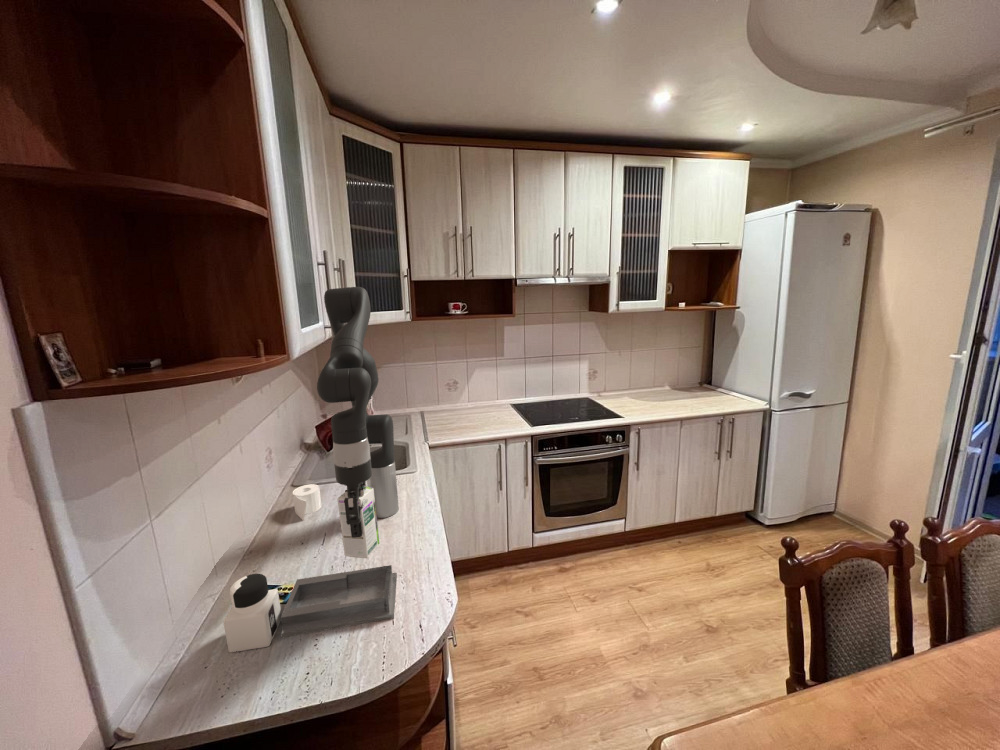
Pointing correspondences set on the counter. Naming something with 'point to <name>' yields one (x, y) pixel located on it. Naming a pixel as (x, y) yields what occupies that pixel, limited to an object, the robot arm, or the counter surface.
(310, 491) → the toilet paper
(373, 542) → the syrup box
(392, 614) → the low gray tray
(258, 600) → the container
